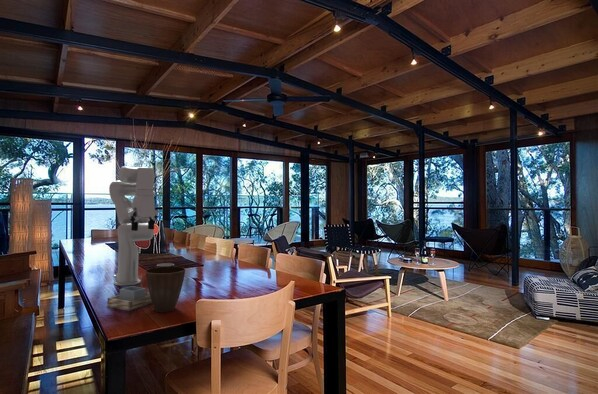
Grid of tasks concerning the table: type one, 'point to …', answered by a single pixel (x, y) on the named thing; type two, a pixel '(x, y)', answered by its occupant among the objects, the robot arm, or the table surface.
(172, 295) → the plant pot
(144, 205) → the robot arm
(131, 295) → the slate crate
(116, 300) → the birch crate
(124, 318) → the table surface
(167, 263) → the coffee mug
